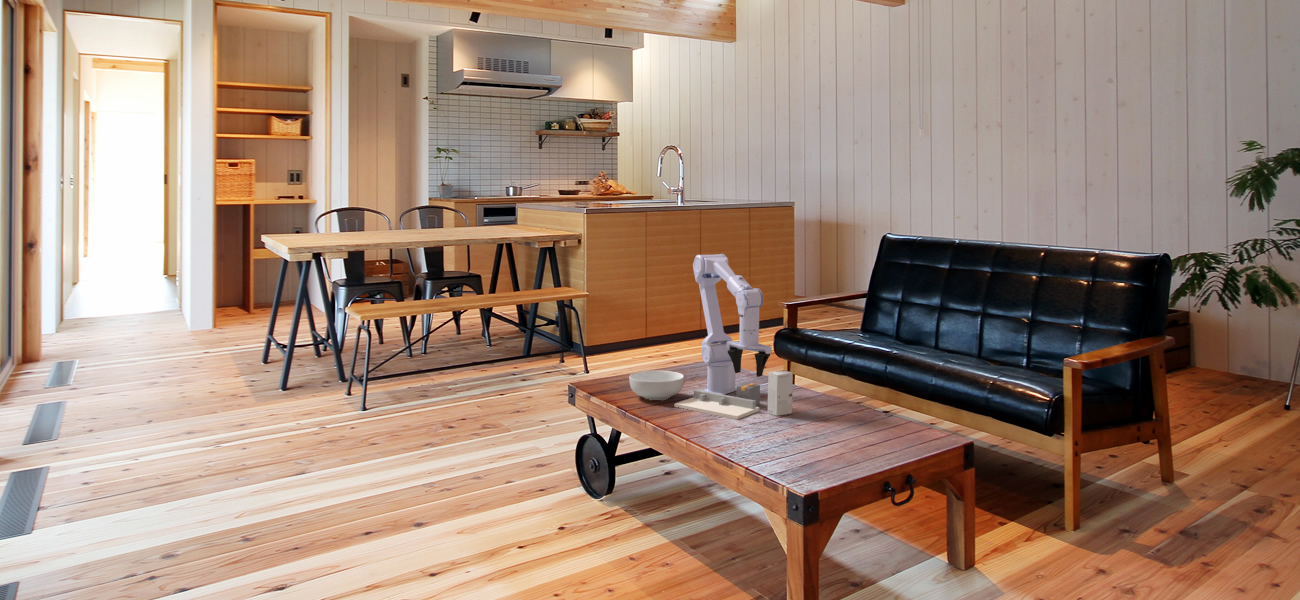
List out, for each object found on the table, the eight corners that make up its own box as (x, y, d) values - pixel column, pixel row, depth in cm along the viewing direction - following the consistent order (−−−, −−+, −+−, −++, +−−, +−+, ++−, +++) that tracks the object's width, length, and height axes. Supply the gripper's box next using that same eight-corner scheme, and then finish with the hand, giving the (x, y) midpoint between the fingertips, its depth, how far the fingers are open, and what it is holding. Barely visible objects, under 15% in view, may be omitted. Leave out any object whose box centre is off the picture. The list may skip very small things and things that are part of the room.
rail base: (697, 398, 262) (697, 388, 262) (759, 410, 249) (759, 400, 248) (674, 406, 253) (674, 396, 253) (737, 419, 239) (737, 408, 239)
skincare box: (777, 416, 243) (777, 375, 241) (766, 412, 246) (767, 372, 245) (793, 413, 246) (794, 372, 244) (782, 409, 250) (783, 369, 248)
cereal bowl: (685, 391, 271) (685, 370, 270) (682, 405, 255) (682, 382, 254) (632, 390, 273) (632, 368, 272) (626, 403, 257) (626, 381, 256)
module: (747, 401, 259) (747, 382, 258) (759, 404, 256) (760, 384, 255) (736, 406, 254) (736, 386, 253) (749, 408, 251) (749, 388, 251)
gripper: (721, 328, 253) (720, 373, 255) (763, 334, 244) (762, 380, 246) (734, 325, 259) (733, 369, 261) (775, 330, 250) (774, 375, 252)
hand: (748, 374), depth 254 cm, fingers open, 7 cm apart
